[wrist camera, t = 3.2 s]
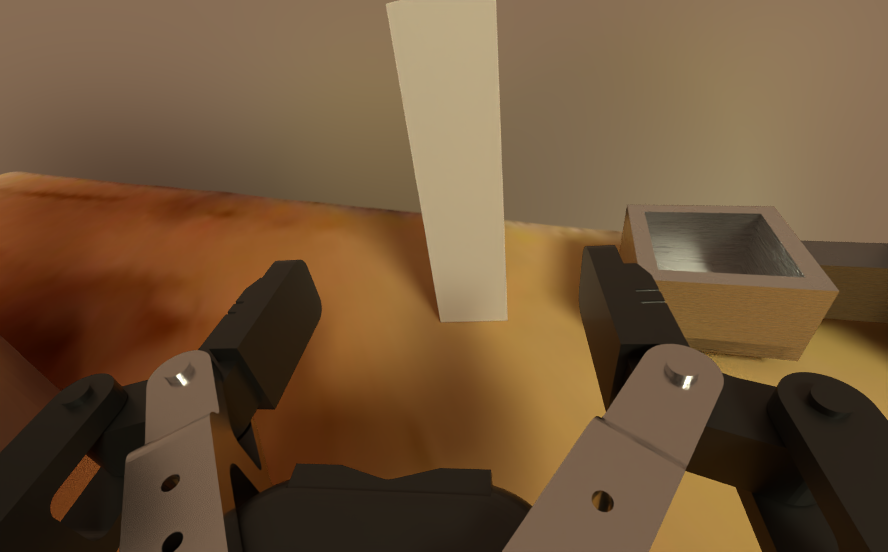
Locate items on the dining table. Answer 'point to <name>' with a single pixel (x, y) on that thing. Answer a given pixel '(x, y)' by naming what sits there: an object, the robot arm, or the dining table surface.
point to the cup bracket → (752, 277)
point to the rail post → (455, 147)
